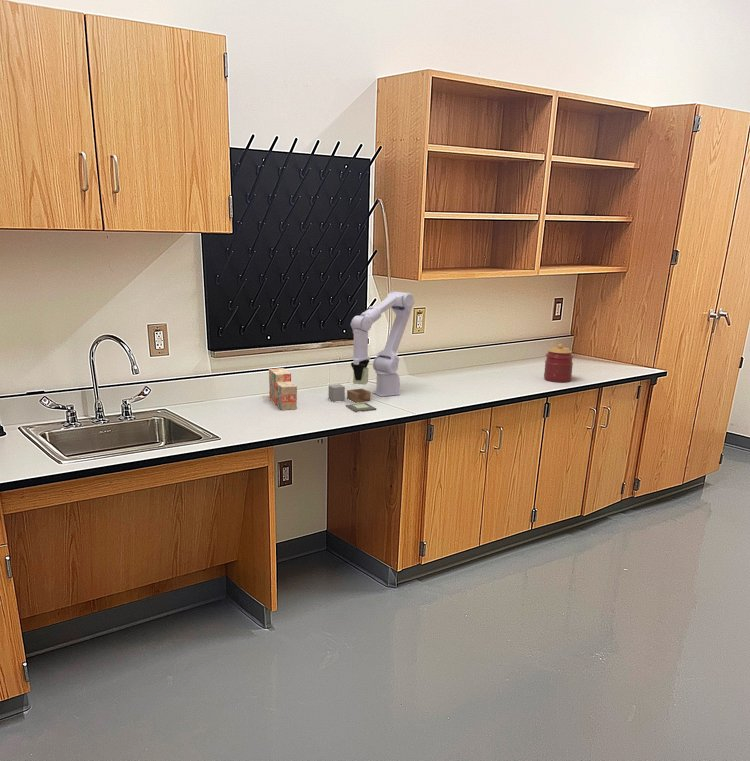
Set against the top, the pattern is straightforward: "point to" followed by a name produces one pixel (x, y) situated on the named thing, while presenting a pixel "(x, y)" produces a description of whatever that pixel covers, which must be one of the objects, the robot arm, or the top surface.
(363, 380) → the sage green block
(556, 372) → the canister
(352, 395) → the walnut base block
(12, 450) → the top surface
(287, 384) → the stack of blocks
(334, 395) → the slate grey block
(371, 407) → the card
